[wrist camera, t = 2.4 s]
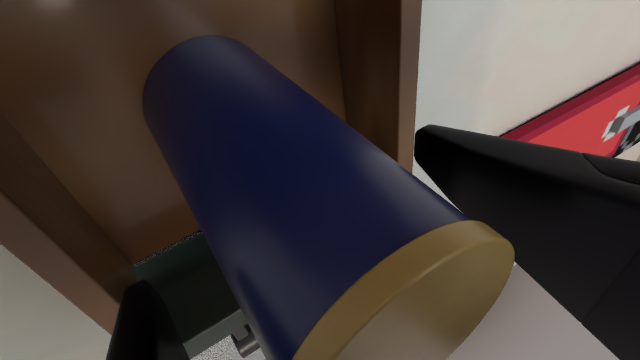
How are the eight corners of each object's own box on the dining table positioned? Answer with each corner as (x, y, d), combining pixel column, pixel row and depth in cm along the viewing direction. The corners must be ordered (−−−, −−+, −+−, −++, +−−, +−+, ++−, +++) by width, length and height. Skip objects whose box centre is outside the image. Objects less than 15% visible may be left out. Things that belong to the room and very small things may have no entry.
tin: (294, 67, 14) (545, 247, 7) (238, 170, 15) (409, 404, 9) (174, 2, 11) (431, 224, 4) (115, 142, 12) (240, 482, 5)
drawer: (364, 219, 24) (415, 270, 21) (167, 337, 20) (194, 421, 17) (330, -259, 10) (464, -312, 7) (-342, -181, 6) (-694, -227, 3)
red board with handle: (624, 149, 49) (689, 34, 39) (648, 160, 47) (723, 42, 37) (455, 258, 39) (484, 139, 29) (476, 277, 37) (516, 157, 27)
